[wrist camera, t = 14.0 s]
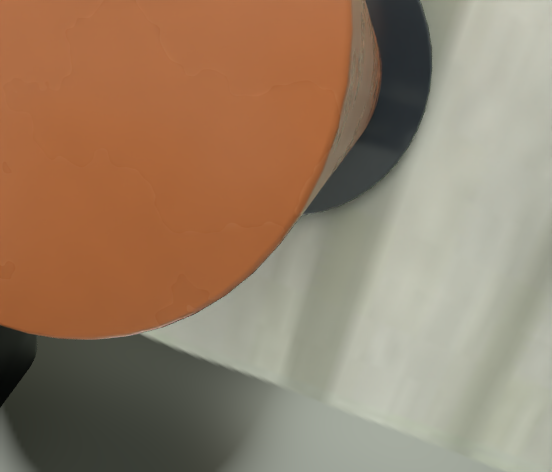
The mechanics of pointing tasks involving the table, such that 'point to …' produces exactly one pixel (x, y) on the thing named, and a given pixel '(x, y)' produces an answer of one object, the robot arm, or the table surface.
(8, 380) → the robot arm
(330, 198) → the charcoal plate
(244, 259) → the copper pot
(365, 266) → the table surface
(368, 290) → the table surface
